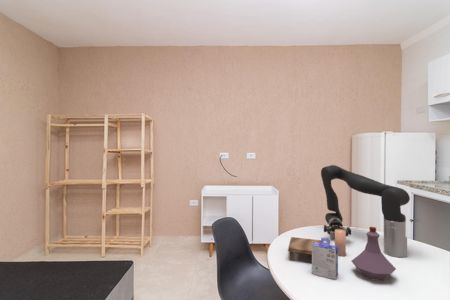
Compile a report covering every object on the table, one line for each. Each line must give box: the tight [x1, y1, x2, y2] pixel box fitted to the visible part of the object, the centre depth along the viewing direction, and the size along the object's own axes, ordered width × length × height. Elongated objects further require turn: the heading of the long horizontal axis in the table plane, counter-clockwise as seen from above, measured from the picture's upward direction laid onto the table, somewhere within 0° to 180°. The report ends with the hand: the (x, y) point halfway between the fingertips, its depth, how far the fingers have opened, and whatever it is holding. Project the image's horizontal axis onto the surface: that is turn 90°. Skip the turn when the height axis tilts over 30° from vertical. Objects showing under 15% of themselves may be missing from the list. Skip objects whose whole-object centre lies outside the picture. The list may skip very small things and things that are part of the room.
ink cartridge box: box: [311, 237, 339, 280], centre depth 106 cm, size 10×6×14 cm, turn 58°
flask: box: [350, 226, 397, 281], centre depth 106 cm, size 16×16×20 cm
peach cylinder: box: [334, 229, 347, 257], centre depth 126 cm, size 5×5×12 cm
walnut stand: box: [287, 236, 324, 262], centre depth 124 cm, size 16×16×6 cm
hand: (338, 233), depth 138 cm, fingers open, 8 cm apart
